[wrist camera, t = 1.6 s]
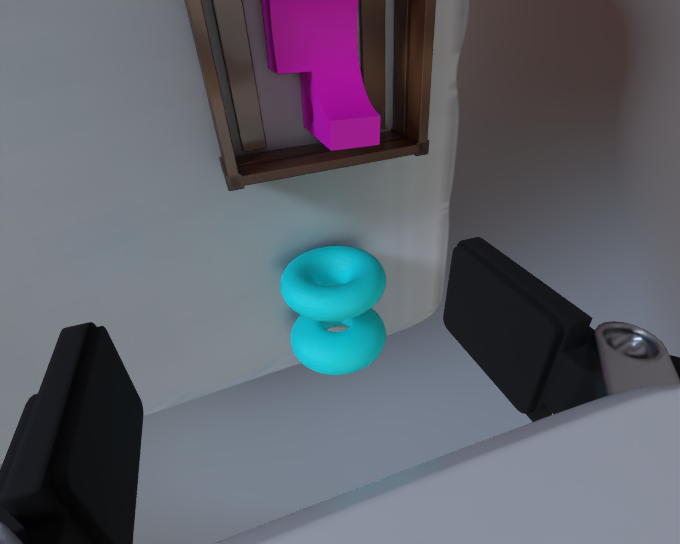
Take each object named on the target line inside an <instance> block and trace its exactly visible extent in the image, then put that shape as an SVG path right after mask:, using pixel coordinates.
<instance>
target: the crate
mask: <svg viewBox="0 0 680 544" xmlns="http://www.w3.org/2000/svg"><path fill="white" fill-rule="evenodd" d="M212 3H213V8H214V13H215V18H216V23H217V28H218V32H219V37H220V42H221V47H222V52H223V57H224V62H225V67H226V72H227V77H228V81H229V86H230V91H231V96H232V101H233V106H234V111H235V116H236V121H237V126H238V130H239V135H240V140H241V145H242V150H243V152H247V151H254V150H260V149H266V148H267V146H266V140H265V135H264V129H263V123H262V117H261V111H260V105H259V99H258V93H257V87H256V81H255V75H254V69H253V63H252V57H251V52H250V46H249V40H248V34H247V28H246V22H245V16H244V10H243V4H242V0H212ZM359 3H360V37H361V72H362V80H363V84H364V88H365V91H366V94H367V96H368V99H369V101H370V103H371V105H372V106H373V108H374V109H375V111H376V112H377V113H378V114H379V115H380V130H382V129H385V0H359ZM185 4H186V8H187V12H188V17H189V21H190V25H191V29H192V34H193V38H194V42H195V46H196V50H197V55H198V59H199V63H200V67H201V72H202V76H203V80H204V84H205V89H206V93H207V97H208V101H209V105H210V110H211V114H212V118H213V122H214V127H215V131H216V135H217V139H218V143H219V148H220V152H221V156H222V157H220V162H221V167H222V171H223V174H224V177H225V181H226V184H227V187H228V190H229V191H233V190H238V189H243V188H244V186H245V185H251V184H256V183H261V182H267V181H272V180H278V179H283V178H289V177H294V176H299V175H305V174H310V173H316V172H321V171H327V170H332V169H337V168H343V167H348V166H354V165H359V164H364V163H370V162H375V161H381V160H386V159H392V158H397V157H402V156H408V155H415V156H420V155H426V154H428V150H429V140H427V136H428V120H429V104H430V88H431V72H432V56H433V40H434V23H435V7H436V0H395V19H394V96H393V129H391V131H389V132H383V133H380V145H373V146H365V147H357V148H349V149H341V150H333V151H331V150H330V149H329V148H328V147H326V146H325V145H324V144H323V143H317V144H311V145H305V146H299V147H293V148H287V149H281V150H274V151H268V152H262V153H256V154H250V155H244V156H238V157H235V154H234V150H233V145H232V141H231V136H230V131H229V127H228V122H227V117H226V113H225V108H224V104H223V99H222V94H221V90H220V85H219V81H218V76H217V71H216V67H215V62H214V58H213V53H212V48H211V44H210V39H209V35H208V30H207V25H206V21H205V16H204V12H203V7H202V2H201V0H185Z"/></svg>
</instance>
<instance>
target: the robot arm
mask: <svg viewBox="0 0 680 544" xmlns="http://www.w3.org/2000/svg"><path fill="white" fill-rule="evenodd" d="M443 320H444V324H445V326H446V328H447V329H448V330H449V332H450V333H451V334H452V335H453V336H454V337H455V339H456V340H457V341H458V342H459V343H460V344H461V345H462V347H463V348H464V349H465V350H466V351H467V352H468V354H469V355H470V356H471V357H472V358H473V359H474V360H475V362H476V363H477V364H478V365H479V366H480V367H481V369H483V371H484V372H485V373H486V374H487V375H488V376H489V378H490V379H491V380H492V381H493V382H494V383H495V385H496V386H497V387H498V388H499V389H500V390H501V391H502V393H503V394H504V395H505V396H506V397H507V398H508V399H509V401H510V402H511V403H512V404H513V405H514V406H515V408H516V409H517V410H518V411H519V412H521V413H525V414H526V415H527V416H528V417H529V418H530V419H531V420H532V423H529V424H527V425H524V426H521V427H519V428H516V429H514V430H511V431H508V432H505V433H502V434H500V435H497V436H494V437H492V438H489V439H486V440H484V441H481V442H478V443H476V444H473V445H470V446H468V447H465V448H462V449H460V450H457V451H454V452H452V453H449V454H446V455H444V456H441V457H438V458H436V459H433V460H431V461H428V462H425V463H422V464H420V465H417V466H415V467H412V468H409V469H407V470H404V471H402V472H399V473H396V474H393V475H391V476H388V477H386V478H383V479H380V480H378V481H375V482H372V483H370V484H367V485H364V486H362V487H359V488H356V489H354V490H351V491H349V492H346V493H343V494H341V495H338V496H336V497H333V498H330V499H328V500H325V501H323V502H320V503H317V504H315V505H312V506H310V507H307V508H304V509H302V510H299V511H296V512H294V513H291V514H289V515H286V516H284V517H281V518H278V519H276V520H273V521H270V522H268V523H265V524H263V525H260V526H257V527H255V528H252V529H250V530H247V531H244V532H242V533H239V534H237V535H235V536H232V537H229V538H227V539H224V540H221V541H219V542H216V543H214V544H680V358H679V357H675V356H671V355H669V353H668V351H667V349H666V347H665V346H664V344H663V343H662V342H661V341H660V340H659V339H658V338H657V337H656V336H655V335H653V334H651V333H650V332H648V331H646V330H645V329H642V328H640V327H637V326H635V325H632V324H628V323H624V322H615V321H613V322H605V323H602V324H600V325H598V327H597V328H596V329H595V330H594V329H592V328H591V327H590V326H589V325H590V323H591V320H592V318H591V317H590V316H589V315H587V314H586V313H585V312H583V311H582V310H580V309H579V308H578V307H576V306H575V305H574V304H572V303H571V302H569V301H568V300H567V299H565V298H564V297H562V296H561V295H560V294H558V293H557V292H556V291H554V290H553V289H551V288H550V287H549V286H547V285H546V284H544V283H543V282H542V281H540V280H539V279H537V278H536V277H535V276H533V275H532V274H530V273H529V272H528V271H527V270H525V269H524V268H522V267H521V266H520V265H518V264H517V263H515V262H514V261H512V260H511V259H510V258H509V257H507V256H506V255H504V254H503V253H502V252H500V251H499V250H497V249H496V248H494V247H493V246H492V245H491V244H489V243H488V242H486V241H485V240H484V239H482V238H480V237H475V238H471V239H467V240H462V241H460V242H459V243H458V244H457V247H455V248H454V250H453V254H452V260H451V267H450V275H449V282H448V288H447V295H446V302H445V309H444V316H443ZM552 413H553V414H554V415H552ZM142 425H143V406H142V402H141V399H140V397H139V395H138V393H137V391H136V389H135V387H134V385H133V383H132V381H131V379H130V377H129V375H128V373H127V371H126V369H125V367H124V365H123V362H122V360H121V358H120V356H119V354H118V352H117V350H116V348H115V346H114V344H113V342H112V340H111V338H110V336H109V334H108V332H107V330H106V328H105V327H104V326H100V327H96V325H95V324H94V323H92V322H89V323H85V324H80V325H76V326H71V327H66V328H64V329H62V331H61V333H60V335H59V338H58V341H57V343H56V346H55V349H54V352H53V354H52V357H51V360H50V362H49V365H48V368H47V371H46V373H45V376H44V379H43V381H42V384H41V387H40V390H39V392H38V394H35V395H33V396H32V397H30V398H29V400H28V402H27V403H26V405H25V408H24V410H23V413H22V415H21V418H20V421H19V423H18V426H17V428H16V431H15V433H14V436H13V439H12V441H11V444H10V446H9V449H8V451H7V454H6V456H5V459H4V462H3V464H2V467H1V469H0V544H133V532H134V531H133V530H134V520H135V508H136V496H137V484H138V472H139V461H140V449H141V436H142Z"/></svg>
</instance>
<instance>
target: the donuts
mask: <svg viewBox="0 0 680 544" xmlns="http://www.w3.org/2000/svg"><path fill="white" fill-rule="evenodd" d="M385 285H386V276H385V272H384V269H383V267H382V265H381V264H380V262H379V261H378V260H377V259H376V258H375V257H374V256H372V255H371V254H369V253H367V252H365V251H363V250H361V249H358V248H354V247H349V246H326V247H320V248H316V249H313V250H310V251H307V252H305V253H303V254H301V255H299V256H298V257H296V258H295V259H294V260H292V261H291V262H290V263H289V265H288V266H287V267H286V268H285V270H284V272H283V274H282V277H281V282H280V288H281V293H282V296H283V298H284V300H285V302H286V303H287V304H288V305H289V307H290V308H291V309H293V310H294V311H295V312H297V313H298V314H300V316H299V317H298V319H297V320H296V321H295V323H294V325H293V328H292V331H291V346H292V349H293V352H294V354H295V355H296V357H297V358H298V360H299V361H300V362H301V363H302V364H304V365H305V366H306V367H308V368H310V369H311V370H313V371H316V372H319V373H322V374H328V375H344V374H349V373H353V372H356V371H359V370H361V369H363V368H365V367H367V366H368V365H370V364H371V363H372V362H373V361H374V360H375V359H376V358H377V357H378V356H379V355H380V353H381V351H382V349H383V347H384V344H385V340H386V330H385V326H384V323H383V321H382V319H381V318H380V316H379V315H378V314H377V313H376V312H375V311H374V310H373V309H372V308H371V307H373V306H374V305H375V304H376V303H377V302H378V300H379V299H380V298H381V296H382V294H383V292H384V289H385ZM336 326H345V327H349V328H348V329H346V330H344V331H341V332H331V331H328V330H327V329H329V328H331V327H336Z"/></svg>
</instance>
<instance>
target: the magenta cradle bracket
mask: <svg viewBox="0 0 680 544" xmlns="http://www.w3.org/2000/svg"><path fill="white" fill-rule="evenodd" d="M261 1H262V10H263V20H264V29H265V38H266V47H267V56H268V66H269V69H271V70H272V71H274V72H276V73H278V74H282V73H297V72H300V76H301V90H302V105H303V119H304V128H306V129H307V130H308V131H309V132H310V133H311V134H312V135H314V136H315V137H316V138H317V139H318V140H319V141H321V142H322V143H323V144H324V145H325V146H326V147H328V148H329V149H330V150H331V151H333V150H341V149H349V148H357V147H365V146H373V145H380V115H379V114H378V113H377V112H376V111H375V109H374V108H373V106H372V105H371V103H370V101H369V99H368V96H367V94H366V91H365V88H364V84H363V80H362V76H361V71H360V65H359V58H358V46H357V12H358V1H359V0H261Z"/></svg>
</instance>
